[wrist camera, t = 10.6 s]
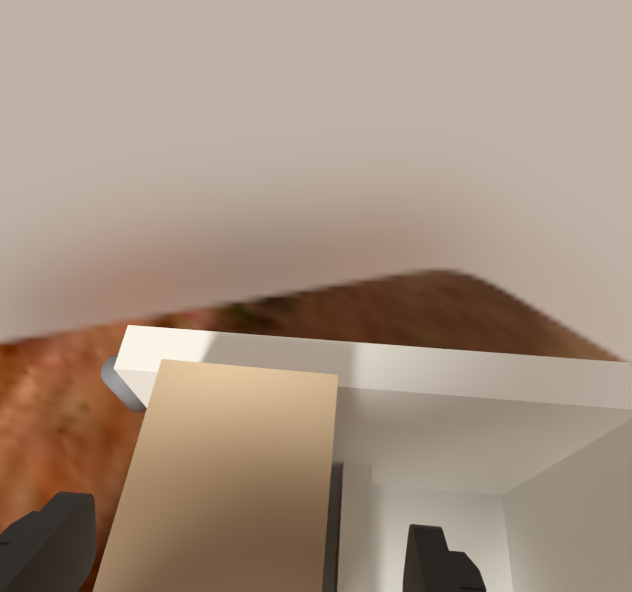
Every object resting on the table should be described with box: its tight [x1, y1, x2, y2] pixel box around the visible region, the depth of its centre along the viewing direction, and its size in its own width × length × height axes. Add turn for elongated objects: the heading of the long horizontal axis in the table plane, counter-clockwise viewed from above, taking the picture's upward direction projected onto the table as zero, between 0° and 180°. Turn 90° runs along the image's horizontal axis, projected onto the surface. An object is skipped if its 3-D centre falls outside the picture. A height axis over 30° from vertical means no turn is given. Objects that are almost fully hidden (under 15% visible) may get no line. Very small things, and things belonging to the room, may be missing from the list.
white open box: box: [101, 325, 632, 592], centre depth 14 cm, size 10×15×11 cm
